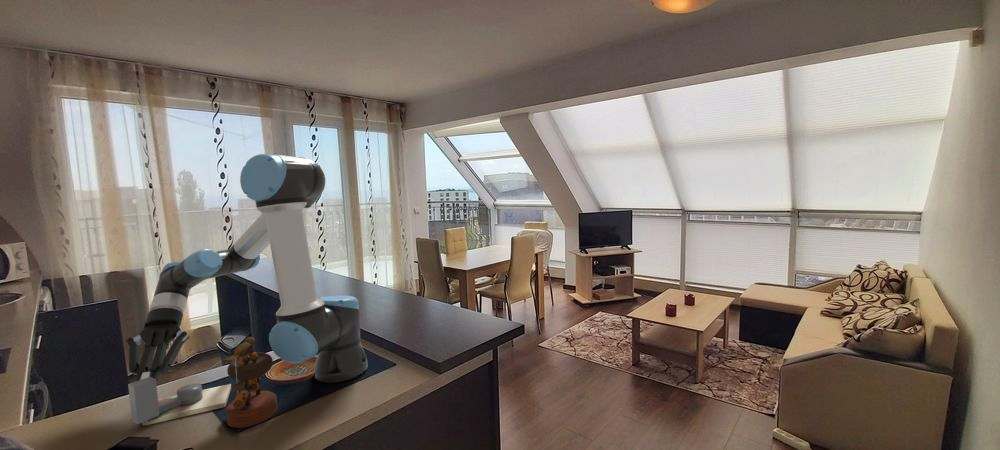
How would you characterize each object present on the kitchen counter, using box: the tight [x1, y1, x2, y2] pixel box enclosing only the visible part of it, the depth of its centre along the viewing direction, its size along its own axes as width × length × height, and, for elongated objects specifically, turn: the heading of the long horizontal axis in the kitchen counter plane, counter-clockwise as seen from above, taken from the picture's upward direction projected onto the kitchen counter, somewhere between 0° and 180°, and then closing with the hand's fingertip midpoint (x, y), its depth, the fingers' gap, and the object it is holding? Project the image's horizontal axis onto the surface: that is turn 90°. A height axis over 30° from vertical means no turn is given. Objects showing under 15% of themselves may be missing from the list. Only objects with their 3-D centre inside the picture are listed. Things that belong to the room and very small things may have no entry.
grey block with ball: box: [127, 377, 203, 425], centre depth 94 cm, size 14×5×9 cm, turn 153°
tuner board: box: [141, 383, 232, 427], centre depth 98 cm, size 17×12×1 cm
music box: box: [223, 336, 278, 429], centre depth 94 cm, size 15×11×20 cm
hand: (140, 400), depth 92 cm, fingers closed
